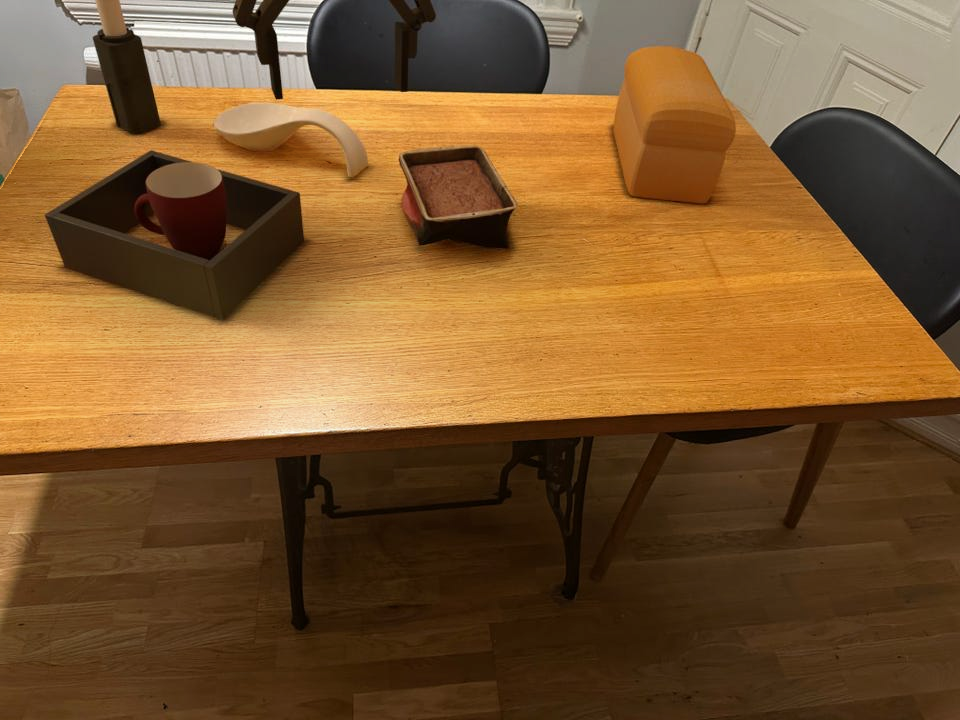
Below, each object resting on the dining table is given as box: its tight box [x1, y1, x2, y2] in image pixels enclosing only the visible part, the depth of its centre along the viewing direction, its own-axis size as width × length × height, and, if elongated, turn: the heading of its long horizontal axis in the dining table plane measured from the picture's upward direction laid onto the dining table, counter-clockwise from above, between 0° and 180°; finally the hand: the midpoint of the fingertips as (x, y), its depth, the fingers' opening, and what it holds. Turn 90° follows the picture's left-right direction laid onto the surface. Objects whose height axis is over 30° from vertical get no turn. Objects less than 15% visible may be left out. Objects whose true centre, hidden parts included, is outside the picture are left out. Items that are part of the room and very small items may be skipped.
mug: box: [134, 161, 227, 261], centre depth 80 cm, size 10×8×10 cm
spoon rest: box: [213, 101, 369, 178], centre depth 101 cm, size 24×12×7 cm, turn 67°
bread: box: [613, 45, 737, 204], centre depth 107 cm, size 24×13×15 cm, turn 178°
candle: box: [92, 0, 162, 135], centre depth 97 cm, size 5×5×25 cm
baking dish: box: [397, 145, 519, 249], centre depth 91 cm, size 14×18×10 cm
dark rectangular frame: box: [44, 149, 305, 321], centre depth 81 cm, size 21×17×7 cm
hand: (340, 90), depth 76 cm, fingers open, 13 cm apart
